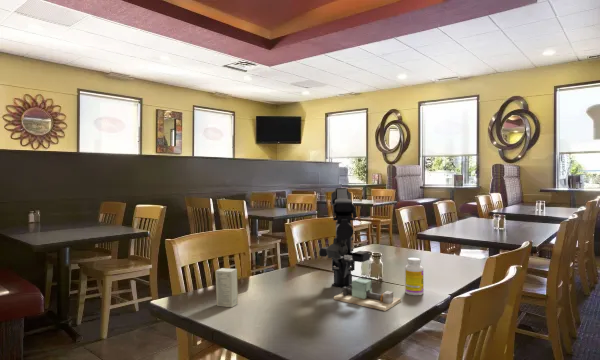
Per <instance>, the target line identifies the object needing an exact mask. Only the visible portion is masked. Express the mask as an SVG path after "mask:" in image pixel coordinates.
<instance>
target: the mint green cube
mask: <svg viewBox="0 0 600 360" xmlns="http://www.w3.org/2000/svg"><path fill="white" fill-rule="evenodd" d="M366 292H371V293H373V280H372V279H367V278H360V277H359V278H356V279H353V280H352V296H354V297H358V298H363V299H365V298H366Z"/></svg>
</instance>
